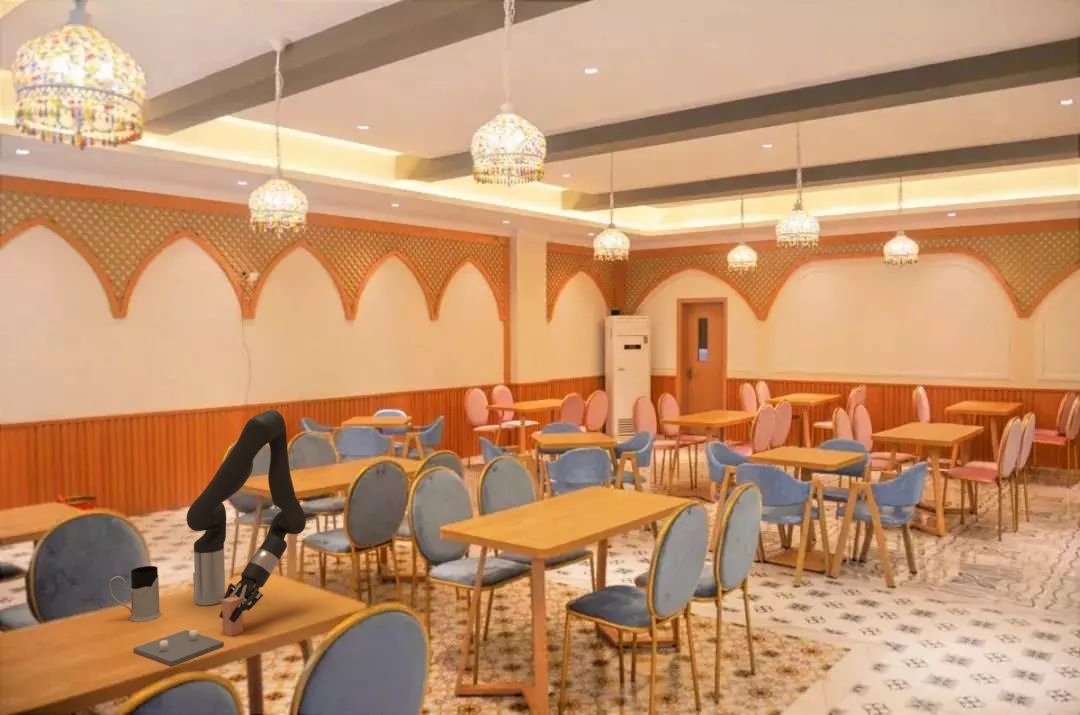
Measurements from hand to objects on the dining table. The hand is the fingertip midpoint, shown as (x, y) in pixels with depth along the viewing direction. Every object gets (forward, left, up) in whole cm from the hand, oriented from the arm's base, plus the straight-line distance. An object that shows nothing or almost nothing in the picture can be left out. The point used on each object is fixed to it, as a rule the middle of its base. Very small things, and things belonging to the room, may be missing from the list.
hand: (226, 619), depth 241 cm
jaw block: (0, +2, -5) cm, 5 cm away
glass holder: (-37, -6, -5) cm, 38 cm away
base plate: (-2, -14, -5) cm, 15 cm away
